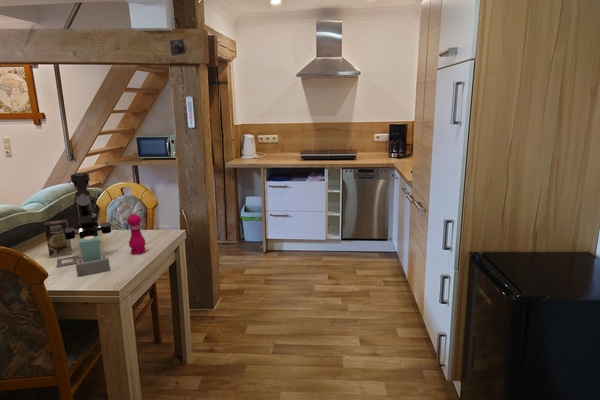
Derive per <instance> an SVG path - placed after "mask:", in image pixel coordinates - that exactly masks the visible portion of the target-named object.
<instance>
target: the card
mask: <svg viewBox="0 0 600 400" xmlns="http://www.w3.org/2000/svg"><path fill="white" fill-rule="evenodd" d="M77 263H79V261H78V255H76V256H75V255H74V256H70V257H69V256H68V257H64V258H58V259H57V260H56V268H63V267H68V266H73V265H76V264H77Z"/></svg>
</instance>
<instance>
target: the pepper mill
mask: <svg viewBox="0 0 600 400" xmlns="http://www.w3.org/2000/svg"><path fill="white" fill-rule="evenodd" d="M130 214H131V215H129V216H128V217H127V221H126V222H127V223H128V225H129V226H128V227H129V230H130V233H131V234H130V238H129V242H128V246H129V248H130V253H131V255H133V256H134V255H135V256H136V255H141V254H142V255H143V254H144V253H146V239H145V237H144V236H143V234H142V232H141V228H142V224H141V222H142V217H141V216H140V215H138V214H136V212H135V211H132V212H131V213H130Z"/></svg>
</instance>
